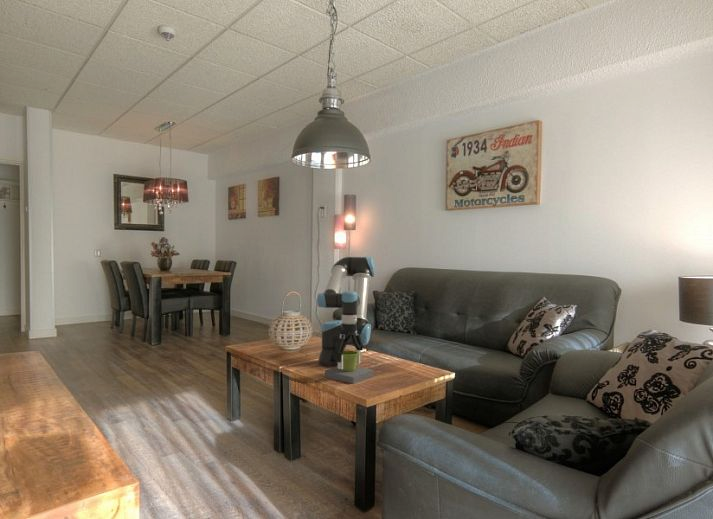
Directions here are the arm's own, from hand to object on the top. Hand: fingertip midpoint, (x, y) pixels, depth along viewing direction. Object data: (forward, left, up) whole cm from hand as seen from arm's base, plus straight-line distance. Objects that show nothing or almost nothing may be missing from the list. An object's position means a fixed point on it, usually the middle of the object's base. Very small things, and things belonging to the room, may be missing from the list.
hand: (349, 365), depth 210 cm
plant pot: (0, 0, -2) cm, 2 cm away
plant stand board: (0, 0, -5) cm, 5 cm away
